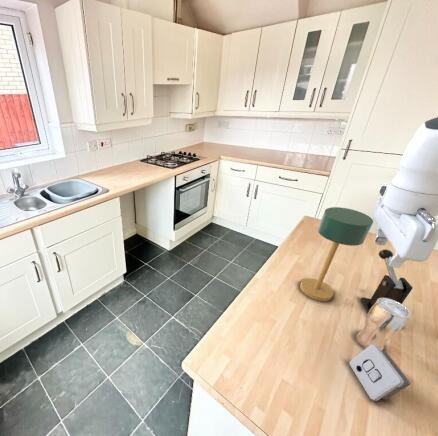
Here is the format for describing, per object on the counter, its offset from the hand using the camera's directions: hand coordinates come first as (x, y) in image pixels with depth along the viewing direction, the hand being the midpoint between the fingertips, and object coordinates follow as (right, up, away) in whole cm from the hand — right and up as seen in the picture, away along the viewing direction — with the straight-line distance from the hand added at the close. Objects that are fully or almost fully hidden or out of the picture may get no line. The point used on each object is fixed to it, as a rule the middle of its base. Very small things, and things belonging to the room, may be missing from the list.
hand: (385, 253), depth 57 cm
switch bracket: (+21, -23, +23) cm, 39 cm away
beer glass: (+9, -28, +14) cm, 33 cm away
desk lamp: (+6, -18, +32) cm, 38 cm away
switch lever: (+22, -9, +22) cm, 33 cm away
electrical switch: (+1, -34, +5) cm, 34 cm away
